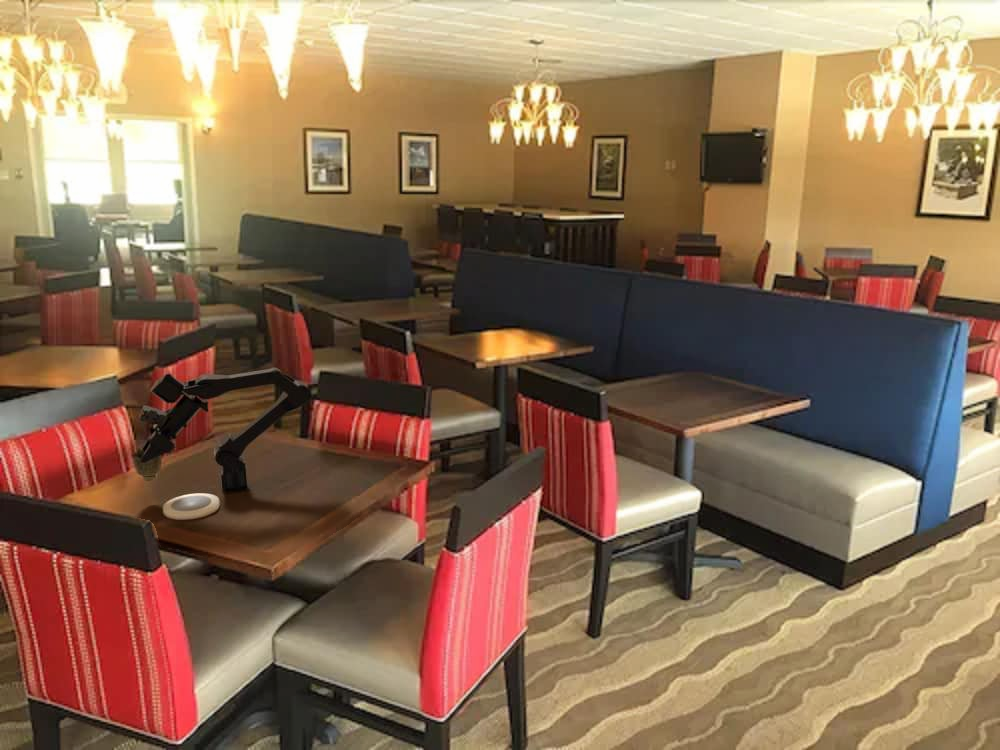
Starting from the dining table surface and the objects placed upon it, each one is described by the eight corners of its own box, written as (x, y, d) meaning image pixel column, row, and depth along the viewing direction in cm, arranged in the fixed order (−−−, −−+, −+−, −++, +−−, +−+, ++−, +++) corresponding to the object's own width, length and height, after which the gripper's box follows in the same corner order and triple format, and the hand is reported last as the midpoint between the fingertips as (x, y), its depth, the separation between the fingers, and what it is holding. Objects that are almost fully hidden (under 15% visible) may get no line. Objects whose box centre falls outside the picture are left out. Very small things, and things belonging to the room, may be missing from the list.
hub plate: (218, 495, 223) (217, 489, 223) (221, 514, 211) (220, 508, 210) (163, 502, 218) (162, 497, 218) (163, 523, 206) (162, 517, 205)
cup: (165, 473, 224) (161, 446, 222) (164, 482, 217) (161, 454, 215) (135, 477, 221) (132, 449, 219) (134, 486, 215) (130, 458, 213)
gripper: (156, 387, 223) (117, 430, 222) (155, 404, 207) (113, 451, 205) (189, 411, 228) (151, 453, 227) (191, 430, 211) (150, 475, 210)
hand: (141, 457), depth 217 cm, fingers closed on cup, 7 cm apart
